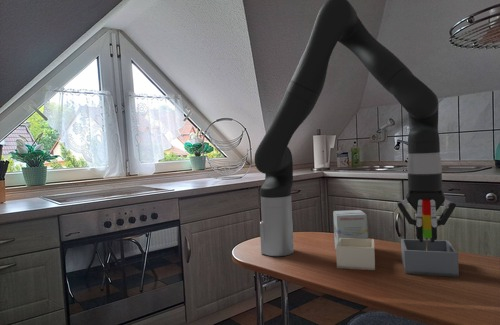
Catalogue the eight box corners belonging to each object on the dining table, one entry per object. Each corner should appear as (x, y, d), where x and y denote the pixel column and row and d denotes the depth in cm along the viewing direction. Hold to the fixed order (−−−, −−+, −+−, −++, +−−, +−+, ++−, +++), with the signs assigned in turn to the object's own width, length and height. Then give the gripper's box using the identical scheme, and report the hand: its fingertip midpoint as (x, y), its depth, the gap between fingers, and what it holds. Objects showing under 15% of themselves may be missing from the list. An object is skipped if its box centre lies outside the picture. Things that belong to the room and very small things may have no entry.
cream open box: (336, 268, 91) (336, 246, 90) (340, 257, 99) (339, 237, 99) (375, 270, 88) (374, 248, 87) (374, 259, 96) (374, 239, 96)
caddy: (405, 273, 84) (404, 250, 84) (401, 259, 95) (400, 239, 95) (458, 276, 81) (458, 252, 80) (448, 261, 91) (448, 240, 91)
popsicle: (432, 262, 85) (430, 199, 84) (424, 261, 86) (422, 199, 85) (429, 255, 90) (427, 196, 90) (421, 255, 91) (419, 196, 90)
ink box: (362, 247, 108) (361, 208, 108) (369, 255, 100) (367, 213, 99) (334, 247, 109) (332, 209, 109) (338, 256, 101) (336, 214, 100)
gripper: (395, 173, 86) (397, 244, 86) (459, 171, 81) (461, 246, 82) (393, 171, 93) (395, 236, 93) (452, 169, 88) (454, 238, 89)
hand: (426, 241), depth 88 cm, fingers closed on popsicle, 2 cm apart
